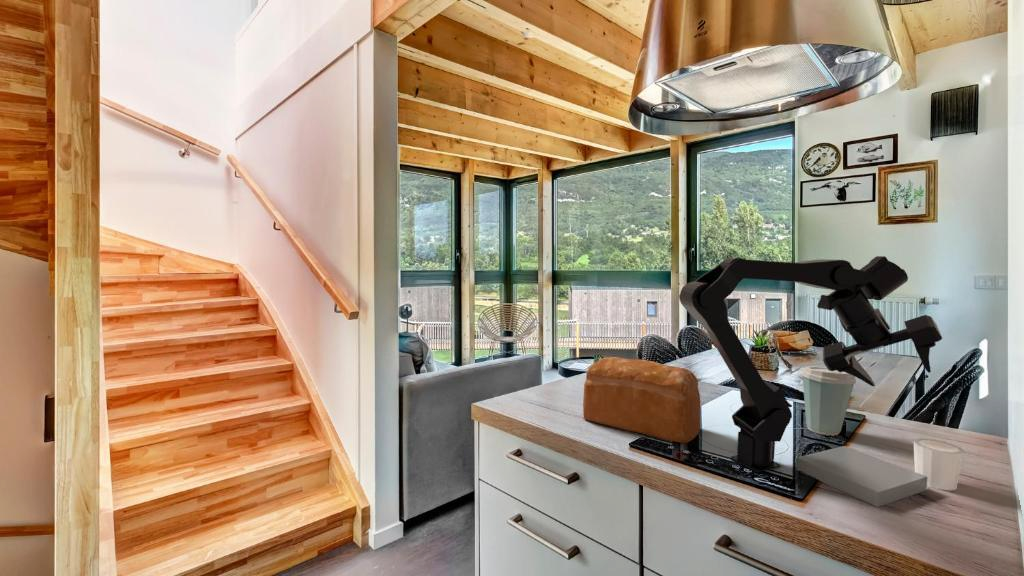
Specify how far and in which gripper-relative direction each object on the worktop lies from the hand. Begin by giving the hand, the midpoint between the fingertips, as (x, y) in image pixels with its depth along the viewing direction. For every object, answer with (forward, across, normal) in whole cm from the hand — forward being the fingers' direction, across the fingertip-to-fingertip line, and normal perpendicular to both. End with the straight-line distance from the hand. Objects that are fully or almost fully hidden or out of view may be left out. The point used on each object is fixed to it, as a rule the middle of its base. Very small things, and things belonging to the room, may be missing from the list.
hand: (900, 378), depth 91 cm
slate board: (+6, +12, +18) cm, 22 cm away
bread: (-13, +49, +12) cm, 52 cm away
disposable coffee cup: (+12, +20, -6) cm, 24 cm away
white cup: (+15, +3, +12) cm, 19 cm away
